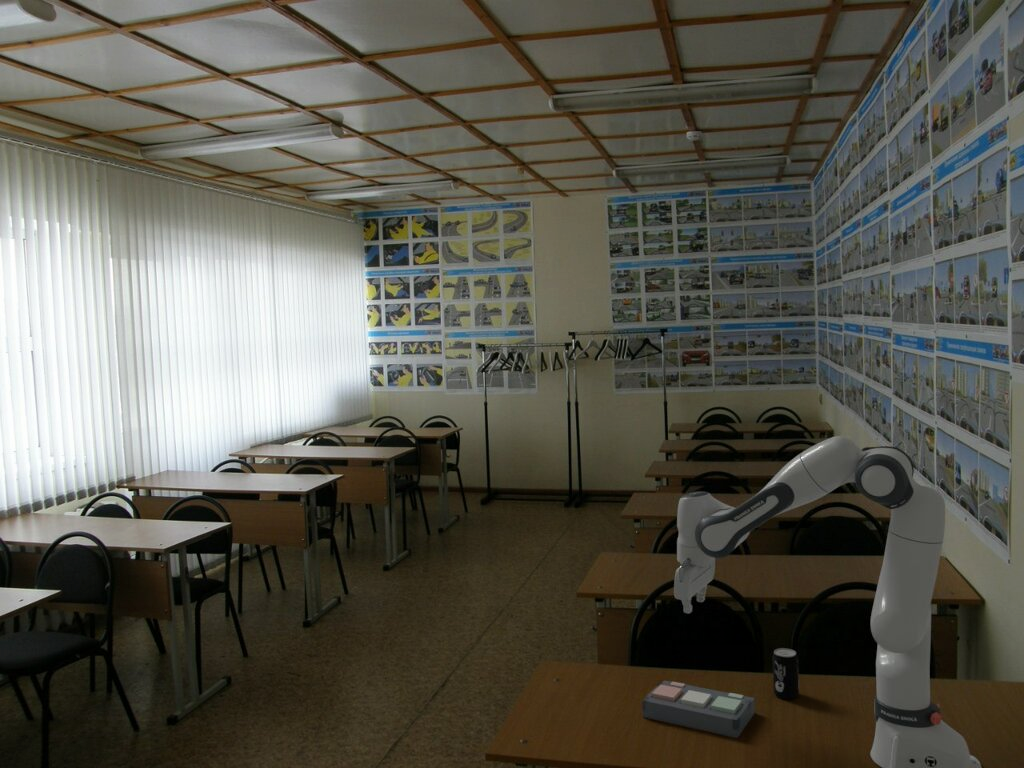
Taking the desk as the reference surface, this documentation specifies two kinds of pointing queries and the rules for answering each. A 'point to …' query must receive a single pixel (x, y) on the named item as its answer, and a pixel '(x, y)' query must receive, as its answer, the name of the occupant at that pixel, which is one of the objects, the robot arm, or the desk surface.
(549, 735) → the desk surface
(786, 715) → the desk surface
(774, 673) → the beverage can
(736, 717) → the keypad
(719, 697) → the sage key
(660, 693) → the rose key
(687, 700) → the ivory key
